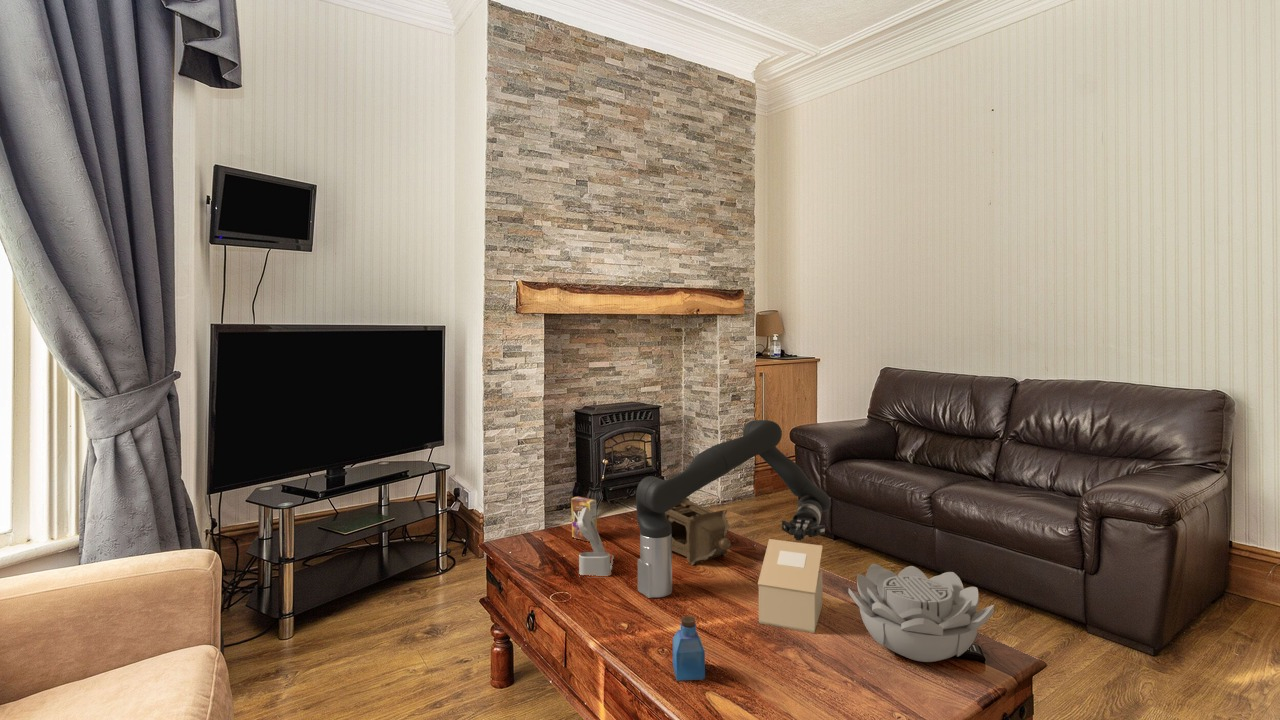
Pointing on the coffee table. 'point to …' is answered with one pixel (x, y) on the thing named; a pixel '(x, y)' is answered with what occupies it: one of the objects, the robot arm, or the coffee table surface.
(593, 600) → the coffee table surface
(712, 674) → the coffee table surface
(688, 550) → the brown lantern
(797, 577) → the lid flap
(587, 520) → the phone holder
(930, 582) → the decorative bowl
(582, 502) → the candy box
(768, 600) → the cardboard carton
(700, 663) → the perfume bottle
